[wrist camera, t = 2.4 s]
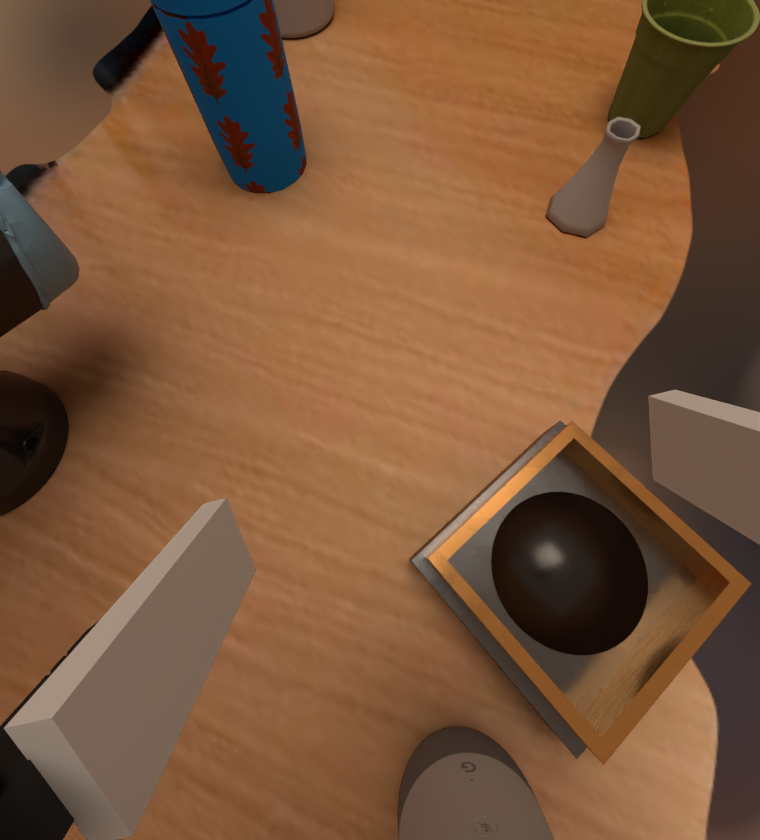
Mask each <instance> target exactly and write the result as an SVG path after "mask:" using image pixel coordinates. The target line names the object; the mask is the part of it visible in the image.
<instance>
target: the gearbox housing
mask: <svg viewBox="0 0 760 840" xmlns="http://www.w3.org/2000/svg"><path fill="white" fill-rule="evenodd" d="M409 559H410V560H411V561H412V563H413V564H414V565H415V566H416V567H417V569H418V570H419V571H420V572H421V573H422V575H423V576H424V577H425V578H426V579H427V581H428V582H429V583H430V584H431V585H432V587H433V588H434V589H435V590H436V591H437V593H438V594H439V595H440V596H441V597H442V599H443V600H444V601H445V602H446V603H447V605H448V606H449V607H450V608H451V609H452V610H453V612H454V613H455V614H456V615H457V616H458V618H459V619H460V620H461V621H462V622H463V624H464V625H465V626H466V627H467V628H468V630H469V631H470V632H471V633H472V634H473V636H474V637H475V638H476V639H477V640H478V642H479V643H480V644H481V645H482V646H483V648H484V649H485V650H486V651H487V652H488V654H489V655H490V656H491V657H492V658H493V660H494V661H495V662H496V663H497V664H498V666H499V667H500V668H501V669H502V670H503V672H504V673H505V674H506V675H507V676H508V678H509V679H510V680H511V681H512V682H513V684H514V685H515V686H516V687H517V688H518V690H519V691H520V692H521V693H522V694H523V696H524V697H525V698H526V699H527V700H528V702H529V703H530V704H531V705H532V706H533V707H534V709H535V710H536V711H537V712H538V713H539V715H540V716H541V717H542V718H543V719H544V721H545V722H546V723H547V724H548V725H549V727H550V728H551V729H552V730H553V731H554V733H555V734H556V735H557V736H558V737H559V738H560V740H561V741H562V742H563V743H564V744H565V746H566V747H567V748H568V749H569V750H570V751H571V753H572V754H573V755H574V756H575V757H576V758H578V757H579V756H580V755H581V753H582V752H583V751H584V750H585V749H586V747H587V748H588V749H589V750H590V751H591V752H592V753H593V754H594V755H595V756H596V757H597V759H598V760H599V761H600V762H601V763H602V764H603V765H604V764H605V763H606V761H607V760H608V759H609V758H610V756H611V755H612V754H613V753H614V752H615V750H616V749H617V748H618V747H619V745H620V744H621V743H622V742H623V740H624V739H625V738H626V737H627V736H628V734H629V733H630V732H631V731H632V729H633V728H634V727H635V726H636V725H637V723H638V722H639V721H640V720H641V718H642V717H643V716H644V715H645V714H646V712H647V711H648V710H649V709H650V707H651V706H652V705H653V704H654V703H655V701H656V700H657V699H658V698H659V696H660V695H661V694H662V693H663V691H664V690H665V689H666V688H667V687H668V685H669V684H670V683H671V682H672V680H673V679H674V678H675V677H676V676H677V674H678V673H679V672H680V671H681V669H682V668H683V667H684V666H685V665H686V663H687V662H688V661H689V660H690V658H691V657H692V656H693V655H694V653H695V652H696V651H697V650H698V649H699V647H700V646H701V645H702V644H703V642H704V641H705V640H706V639H707V638H708V636H709V635H710V634H711V633H712V631H713V630H714V629H715V628H716V626H717V625H718V624H719V623H720V622H721V620H722V619H723V618H724V617H725V616H726V614H727V613H728V612H729V610H730V609H731V608H732V607H733V606H734V605H735V603H736V602H737V601H738V600H739V598H740V597H741V596H742V595H743V593H744V592H745V591H746V590H747V588H748V587H749V586H750V585H751V583H750V582H749V581H748V580H747V579H746V578H745V577H743V576H742V575H741V574H740V573H739V572H738V571H737V570H735V569H734V568H733V567H732V566H731V565H730V564H729V563H728V562H727V561H726V560H725V559H724V558H723V557H721V556H720V555H719V554H718V553H717V552H716V551H715V550H714V549H713V548H712V547H710V546H709V545H708V544H707V543H706V542H705V541H703V539H701V537H699V536H698V535H697V534H696V533H695V532H694V531H693V530H692V529H691V528H690V527H688V526H687V525H686V524H685V523H684V522H683V521H682V520H681V519H679V518H678V517H677V516H676V515H675V514H674V513H673V512H672V511H671V510H670V509H669V508H667V507H666V506H665V505H664V504H663V503H662V502H661V501H660V500H659V499H658V498H656V497H655V496H654V495H653V494H652V493H651V492H650V491H649V490H648V489H647V488H645V487H644V486H643V485H642V484H641V483H640V482H639V481H638V480H637V479H636V478H634V477H633V476H632V475H631V474H630V473H629V472H628V471H627V470H626V469H625V468H623V467H622V466H621V465H620V464H619V463H618V462H617V461H616V460H615V459H614V458H612V457H611V456H610V455H609V454H608V453H607V452H606V451H605V450H604V449H603V448H601V447H600V446H599V445H598V444H597V443H596V442H595V441H594V440H593V439H592V438H590V437H589V436H588V435H587V434H586V433H585V432H584V431H583V430H582V429H581V428H579V427H578V426H577V425H576V424H575V423H574V422H573V421H572V422H571V423H569V424H568V425H565V424H564V423H563V422H561V421H559V422H558V423H556V424H555V425H554V426H552V427H551V428H549V429H548V430H547V431H545V432H544V433H543V434H542V435H541V436H540V437H539V438H537V439H536V440H535V441H534V442H533V443H532V444H531V445H530V446H529V447H528V448H527V449H526V450H525V451H524V452H523V453H521V454H520V455H519V456H518V457H517V458H516V459H515V460H514V461H513V462H512V463H511V464H510V465H509V466H508V467H507V468H505V469H504V470H503V471H502V472H501V473H500V474H499V475H498V476H497V477H496V478H495V479H494V480H493V481H492V482H491V483H489V484H488V485H487V486H486V487H485V488H484V489H483V490H482V491H481V492H480V493H479V494H478V495H477V496H476V497H475V498H473V499H472V500H471V501H470V502H469V503H468V504H467V505H466V506H465V507H464V508H463V509H462V510H461V511H460V512H459V513H457V514H456V515H455V516H454V517H453V518H452V519H451V520H450V521H449V522H448V523H447V524H446V525H445V526H444V527H443V528H441V529H440V530H439V531H438V532H437V533H436V534H435V535H434V536H433V537H432V538H431V539H430V540H429V541H428V542H427V543H425V544H424V545H423V546H422V547H421V548H420V549H419V550H418V551H417V552H416V553H415V554H414V555H413V556H412V557H411V558H409Z"/></svg>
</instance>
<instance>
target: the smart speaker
mask: <svg viewBox="0 0 760 840" xmlns="http://www.w3.org/2000/svg"><path fill="white" fill-rule="evenodd" d="M398 836H399V840H554V838H553V836H552V833H551V831H550V829H549V826H548V824H547V822H546V820H545V817H544V815H543V813H542V810H541V808H540V806H539V804H538V802H537V800H536V797H535V796H534V794H533V792H532V790H531V788H530V786H529V784H528V782H527V780H526V778H525V777H524V775H523V773H522V772H521V770H520V769H519V767H518V766H517V764H516V763H515V762H514V760H513V759H512V758H511V757H510V755H509V754H508V753H507V752H506V751H505V750H504V749H503V748H502V747H501V746H500V745H499V744H498V743H496V742H495V741H494V740H493V739H491V738H490V737H488V736H486V735H485V734H483V733H481V732H479V731H477V730H474V729H471V728H466V727H448V728H444V729H441V730H439V731H437V732H434V733H433V734H431V735H430V736H428V737H427V738H426V739H425V740H424V741H423V742H422V743H421V744H420V745H419V746H418V747H417V749H416V750H415V751H414V753H413V755H412V756H411V758H410V760H409V762H408V764H407V767H406V769H405V772H404V775H403V779H402V782H401V787H400V793H399V801H398Z"/></svg>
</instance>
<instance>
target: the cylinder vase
mask: <svg viewBox="0 0 760 840" xmlns="http://www.w3.org/2000/svg"><path fill="white" fill-rule="evenodd" d="M273 2H274V6H275V11H276V15H277V20H278V24H279V29H280V33H281V37H282V38H300V37H305V36H308V35H311V34H314V33H316V32H318V31H319V30H321V29H322V28H324V27H325V26H326V25H327V24H328V23H329V21H330V20H331V18H332V16H333V12H334V0H273Z"/></svg>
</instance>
